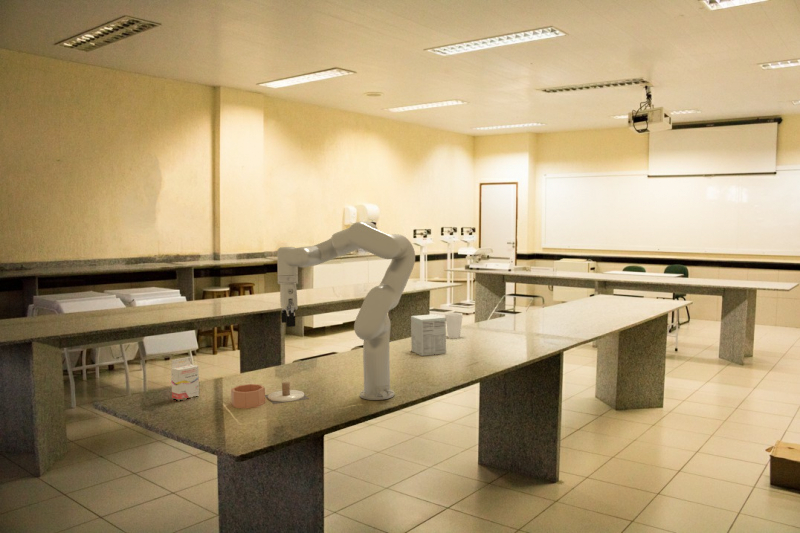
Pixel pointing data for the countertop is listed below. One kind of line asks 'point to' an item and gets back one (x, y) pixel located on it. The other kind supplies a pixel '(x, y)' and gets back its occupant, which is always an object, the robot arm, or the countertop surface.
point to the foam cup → (453, 324)
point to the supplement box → (428, 334)
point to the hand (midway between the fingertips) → (288, 324)
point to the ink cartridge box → (184, 379)
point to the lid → (286, 394)
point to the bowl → (248, 396)
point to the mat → (284, 402)
